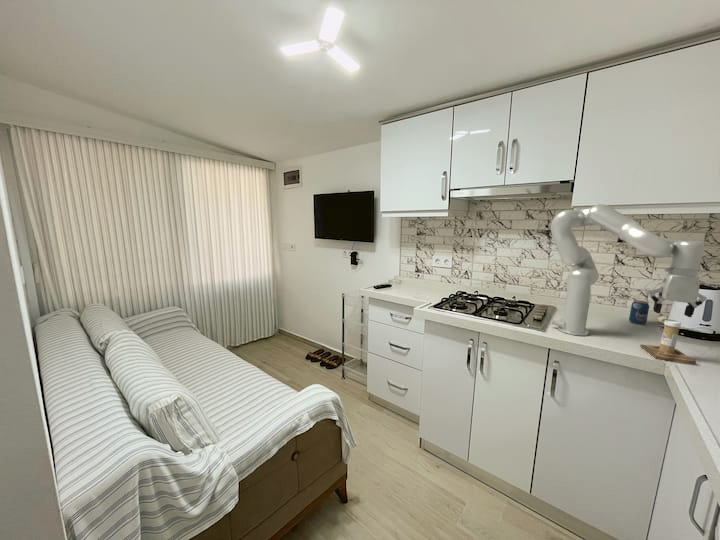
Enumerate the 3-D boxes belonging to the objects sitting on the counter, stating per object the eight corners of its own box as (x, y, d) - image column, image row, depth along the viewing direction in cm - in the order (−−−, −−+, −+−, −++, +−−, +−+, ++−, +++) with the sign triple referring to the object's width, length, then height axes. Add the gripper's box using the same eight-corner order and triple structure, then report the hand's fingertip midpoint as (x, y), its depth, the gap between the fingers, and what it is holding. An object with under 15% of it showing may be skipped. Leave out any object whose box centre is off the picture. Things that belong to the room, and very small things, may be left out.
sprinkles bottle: (655, 349, 125) (661, 319, 123) (664, 349, 126) (671, 318, 123) (667, 354, 121) (674, 322, 118) (677, 354, 121) (684, 322, 119)
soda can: (636, 325, 159) (640, 303, 157) (625, 320, 166) (628, 299, 164) (649, 325, 159) (653, 303, 157) (637, 321, 166) (641, 300, 164)
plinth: (655, 359, 120) (656, 354, 119) (640, 347, 131) (640, 342, 130) (695, 365, 116) (696, 359, 115) (675, 352, 127) (676, 347, 126)
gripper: (660, 271, 117) (649, 313, 120) (719, 277, 111) (707, 320, 114) (649, 268, 124) (640, 308, 127) (705, 273, 118) (693, 314, 121)
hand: (671, 314), depth 121 cm, fingers open, 9 cm apart
